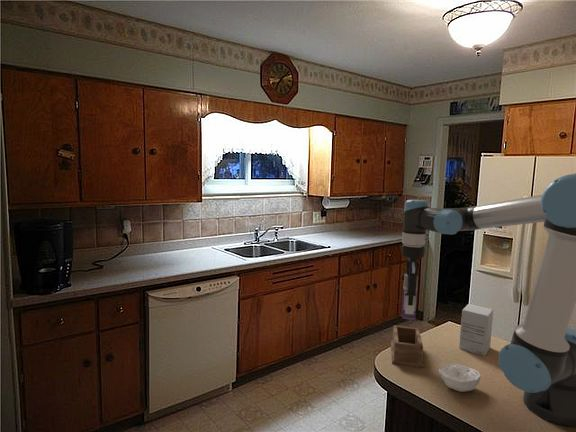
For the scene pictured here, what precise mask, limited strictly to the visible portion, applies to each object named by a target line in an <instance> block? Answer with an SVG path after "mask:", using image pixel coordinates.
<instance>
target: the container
mask: <svg viewBox="0 0 576 432" xmlns="http://www.w3.org/2000/svg"><path fill="white" fill-rule="evenodd" d="M403 276H404V277H403V284H402V285H403V288H402V299H401V301H402V303H401V317H402V318H403V319H405V320H409V321H410V320H416V315H417V314H416V313H417V304H418V303H417V300H418V288H419V287H418V285H419V284H418V282H419V275H418V274H417V282H416V296H415V302H414V314H405V308H406V295H405V294H407V286H408V275H407V274H406V273H404V274H403Z"/></svg>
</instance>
